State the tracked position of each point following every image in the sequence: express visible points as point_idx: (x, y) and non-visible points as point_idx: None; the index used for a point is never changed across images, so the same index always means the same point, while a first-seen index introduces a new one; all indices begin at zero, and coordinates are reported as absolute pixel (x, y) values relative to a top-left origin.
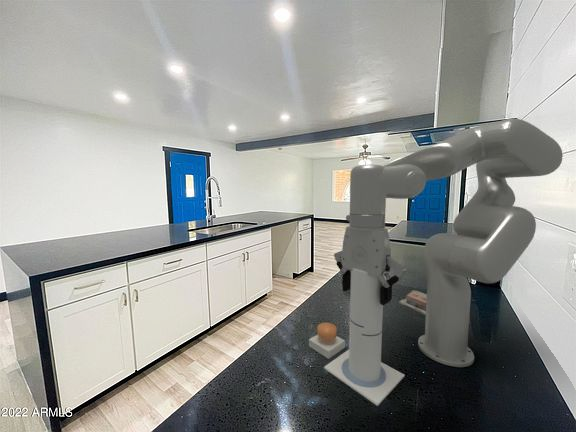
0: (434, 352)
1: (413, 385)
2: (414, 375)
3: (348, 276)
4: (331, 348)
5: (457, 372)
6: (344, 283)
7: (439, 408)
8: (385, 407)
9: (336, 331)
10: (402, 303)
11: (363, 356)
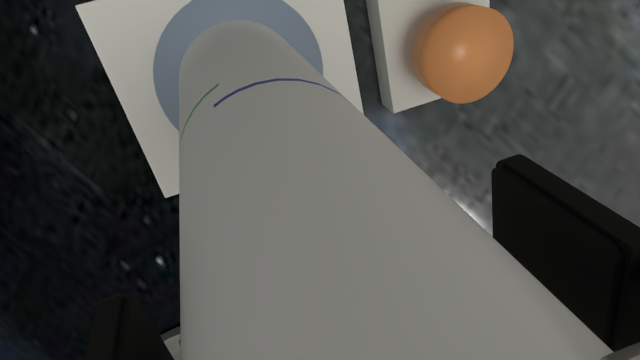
0: None
1: (120, 192)
2: (157, 227)
3: (593, 289)
4: (386, 25)
5: None
6: (553, 197)
7: (6, 194)
8: (63, 29)
9: (429, 86)
10: None
11: (200, 60)
